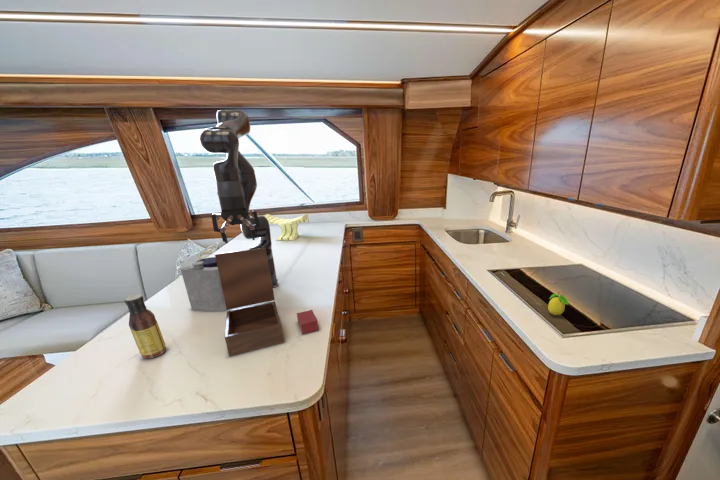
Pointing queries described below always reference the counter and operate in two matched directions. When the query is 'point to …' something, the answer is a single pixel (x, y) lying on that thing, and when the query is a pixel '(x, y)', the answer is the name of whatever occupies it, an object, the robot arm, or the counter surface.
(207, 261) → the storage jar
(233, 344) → the chest
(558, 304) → the lemon
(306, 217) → the slatted curved stool
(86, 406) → the counter surface
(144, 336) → the sauce bottle
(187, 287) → the hip flask
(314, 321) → the book
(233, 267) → the chest lid
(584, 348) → the counter surface
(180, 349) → the counter surface
